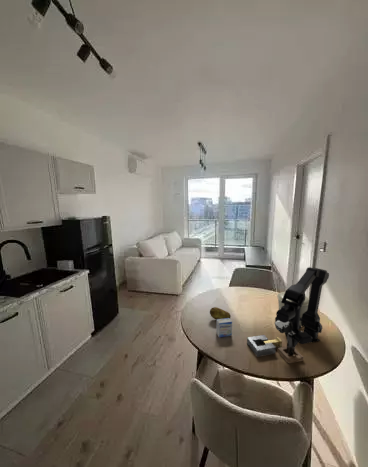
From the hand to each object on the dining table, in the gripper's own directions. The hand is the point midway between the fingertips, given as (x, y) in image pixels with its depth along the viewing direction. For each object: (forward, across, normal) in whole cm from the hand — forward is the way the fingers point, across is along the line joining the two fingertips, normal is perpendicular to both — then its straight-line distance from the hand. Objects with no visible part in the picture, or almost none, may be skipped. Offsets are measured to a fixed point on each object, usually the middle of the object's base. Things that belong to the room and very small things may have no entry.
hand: (291, 344), depth 103 cm
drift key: (+6, -8, -5) cm, 11 cm away
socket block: (+6, -8, -11) cm, 15 cm away
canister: (+7, -24, +20) cm, 32 cm away
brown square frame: (+6, 0, 0) cm, 6 cm away
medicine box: (+7, -23, -25) cm, 35 cm away
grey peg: (+4, 0, 0) cm, 5 cm away
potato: (+7, -37, -22) cm, 43 cm away
